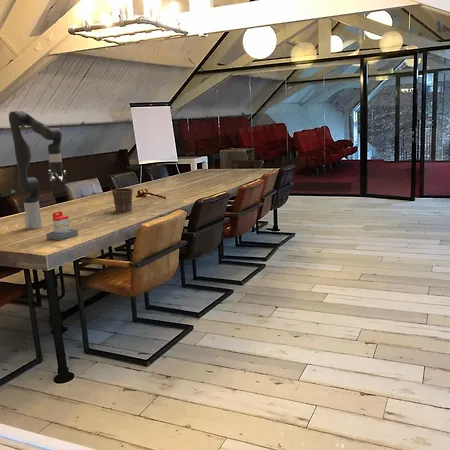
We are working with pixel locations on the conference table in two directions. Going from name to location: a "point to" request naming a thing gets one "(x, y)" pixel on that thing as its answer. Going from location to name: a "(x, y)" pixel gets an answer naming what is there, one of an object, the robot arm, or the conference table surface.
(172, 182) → the conference table surface
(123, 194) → the plant pot
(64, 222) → the ink box
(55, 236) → the tray
